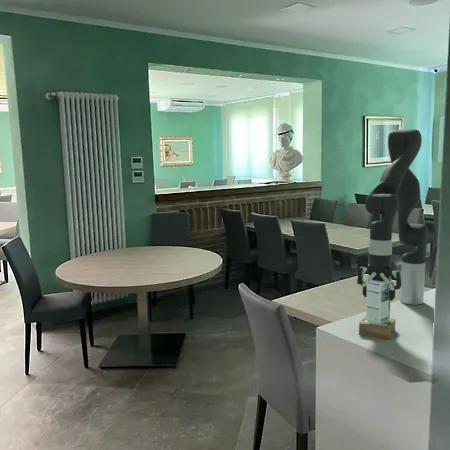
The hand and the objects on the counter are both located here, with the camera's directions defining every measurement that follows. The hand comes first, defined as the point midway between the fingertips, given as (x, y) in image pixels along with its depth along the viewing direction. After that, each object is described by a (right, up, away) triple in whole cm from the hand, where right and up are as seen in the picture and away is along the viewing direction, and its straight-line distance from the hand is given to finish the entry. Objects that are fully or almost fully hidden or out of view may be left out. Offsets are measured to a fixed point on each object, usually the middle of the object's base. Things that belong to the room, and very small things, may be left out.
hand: (378, 298), depth 160 cm
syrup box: (0, -8, +1) cm, 8 cm away
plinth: (0, -12, +2) cm, 12 cm away
